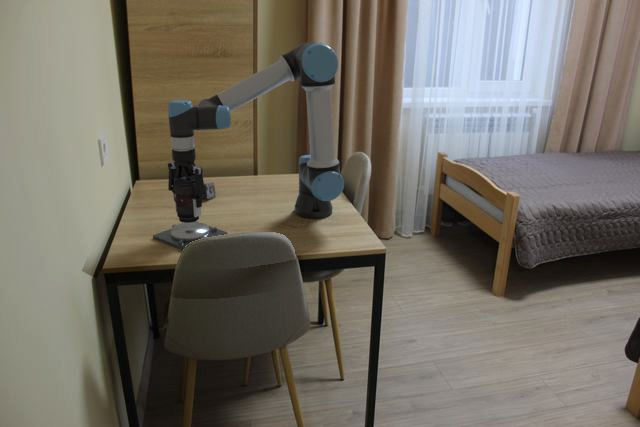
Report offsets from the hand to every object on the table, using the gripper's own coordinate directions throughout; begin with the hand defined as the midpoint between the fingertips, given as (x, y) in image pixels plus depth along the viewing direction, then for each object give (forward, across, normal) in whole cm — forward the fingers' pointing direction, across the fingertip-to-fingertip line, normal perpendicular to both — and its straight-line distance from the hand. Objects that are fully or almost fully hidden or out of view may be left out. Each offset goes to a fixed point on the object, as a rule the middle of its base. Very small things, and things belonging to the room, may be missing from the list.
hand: (188, 213), depth 176 cm
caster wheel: (+9, +27, -35) cm, 45 cm away
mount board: (+9, 0, 0) cm, 9 cm away
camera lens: (+3, 0, 0) cm, 3 cm away
